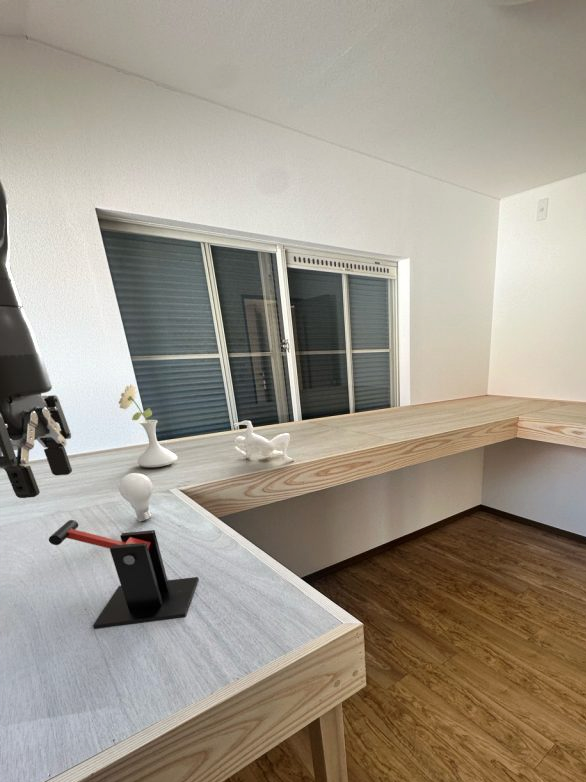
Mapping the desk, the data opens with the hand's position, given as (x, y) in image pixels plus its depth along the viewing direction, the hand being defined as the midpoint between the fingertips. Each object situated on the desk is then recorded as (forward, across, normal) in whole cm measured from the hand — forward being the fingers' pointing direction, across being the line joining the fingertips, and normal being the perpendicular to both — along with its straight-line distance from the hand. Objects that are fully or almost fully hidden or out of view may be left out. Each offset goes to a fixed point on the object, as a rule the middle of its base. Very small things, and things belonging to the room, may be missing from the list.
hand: (47, 484), depth 54 cm
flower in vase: (+21, -79, -12) cm, 83 cm away
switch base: (+21, 0, +8) cm, 22 cm away
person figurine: (+21, -78, +21) cm, 83 cm away
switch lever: (+10, 0, +4) cm, 11 cm away
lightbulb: (+21, -35, -3) cm, 41 cm away
